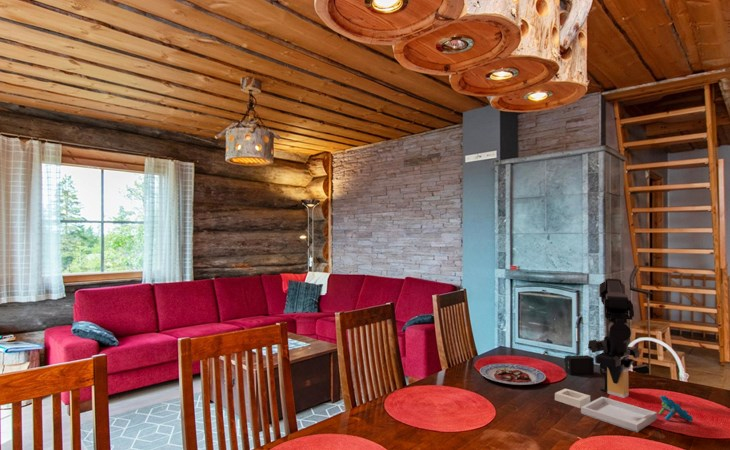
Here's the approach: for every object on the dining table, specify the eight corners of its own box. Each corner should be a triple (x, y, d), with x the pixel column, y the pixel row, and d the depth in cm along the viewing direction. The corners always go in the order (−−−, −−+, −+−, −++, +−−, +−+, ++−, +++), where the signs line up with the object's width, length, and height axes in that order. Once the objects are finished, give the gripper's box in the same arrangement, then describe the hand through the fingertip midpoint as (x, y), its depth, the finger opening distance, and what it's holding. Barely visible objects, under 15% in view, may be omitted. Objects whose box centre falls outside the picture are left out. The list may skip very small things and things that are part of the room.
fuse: (612, 390, 147) (612, 363, 147) (628, 395, 143) (628, 367, 143) (607, 393, 145) (607, 366, 145) (623, 398, 141) (623, 369, 141)
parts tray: (602, 402, 155) (602, 396, 155) (656, 419, 142) (656, 412, 142) (580, 413, 146) (580, 407, 146) (637, 432, 133) (637, 425, 133)
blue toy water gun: (701, 422, 136) (675, 397, 137) (688, 436, 135) (662, 411, 137) (679, 412, 146) (655, 390, 148) (667, 425, 146) (643, 402, 148)
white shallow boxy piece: (565, 395, 162) (565, 388, 163) (590, 402, 155) (590, 395, 155) (554, 400, 158) (554, 393, 158) (579, 408, 151) (579, 400, 151)
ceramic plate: (556, 389, 169) (556, 381, 169) (489, 389, 169) (489, 381, 169) (532, 368, 195) (532, 361, 195) (473, 368, 195) (473, 361, 195)
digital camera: (586, 370, 191) (586, 354, 191) (594, 374, 186) (593, 357, 186) (563, 371, 190) (563, 354, 190) (570, 375, 185) (570, 358, 185)
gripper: (605, 326, 156) (605, 370, 156) (578, 333, 145) (579, 381, 145) (639, 331, 148) (640, 378, 147) (614, 340, 136) (615, 391, 136)
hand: (617, 382), depth 144 cm, fingers closed on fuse, 3 cm apart
